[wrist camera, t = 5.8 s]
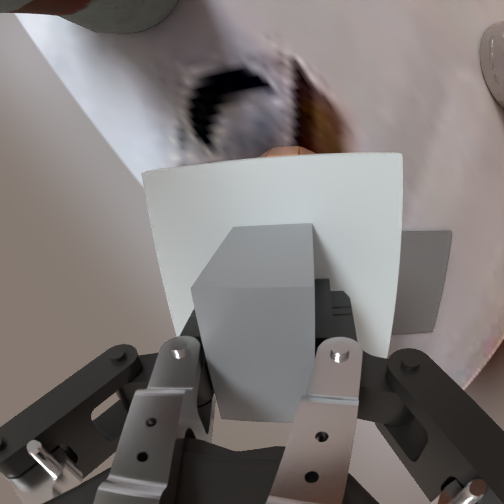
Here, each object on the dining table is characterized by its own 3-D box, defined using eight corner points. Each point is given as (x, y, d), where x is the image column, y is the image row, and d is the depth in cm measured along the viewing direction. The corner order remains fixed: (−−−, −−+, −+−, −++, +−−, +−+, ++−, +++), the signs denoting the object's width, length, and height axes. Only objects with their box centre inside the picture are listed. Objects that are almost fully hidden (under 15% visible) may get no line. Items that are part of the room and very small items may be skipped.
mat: (450, 230, 25) (452, 232, 24) (431, 329, 29) (432, 331, 29) (333, 233, 27) (334, 234, 26) (331, 334, 31) (331, 337, 31)
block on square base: (397, 152, 11) (463, 175, 6) (382, 363, 14) (401, 454, 9) (148, 170, 13) (61, 204, 8) (189, 362, 16) (151, 443, 11)
